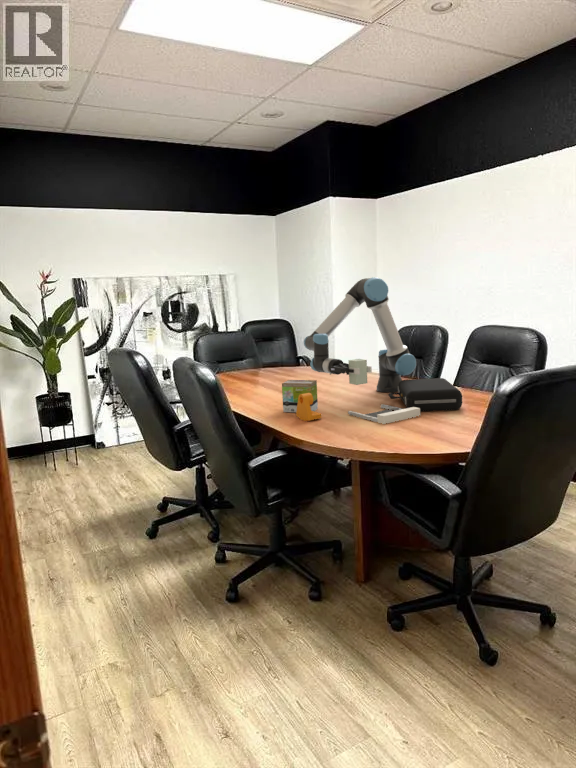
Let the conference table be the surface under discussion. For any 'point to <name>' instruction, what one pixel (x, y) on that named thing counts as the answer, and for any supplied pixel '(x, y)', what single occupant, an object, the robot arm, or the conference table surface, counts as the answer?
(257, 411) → the conference table surface
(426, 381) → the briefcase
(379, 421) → the end stop
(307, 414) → the bracket
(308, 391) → the tea box
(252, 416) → the conference table surface
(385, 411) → the stop pad
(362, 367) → the block
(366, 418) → the track rails
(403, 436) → the conference table surface
